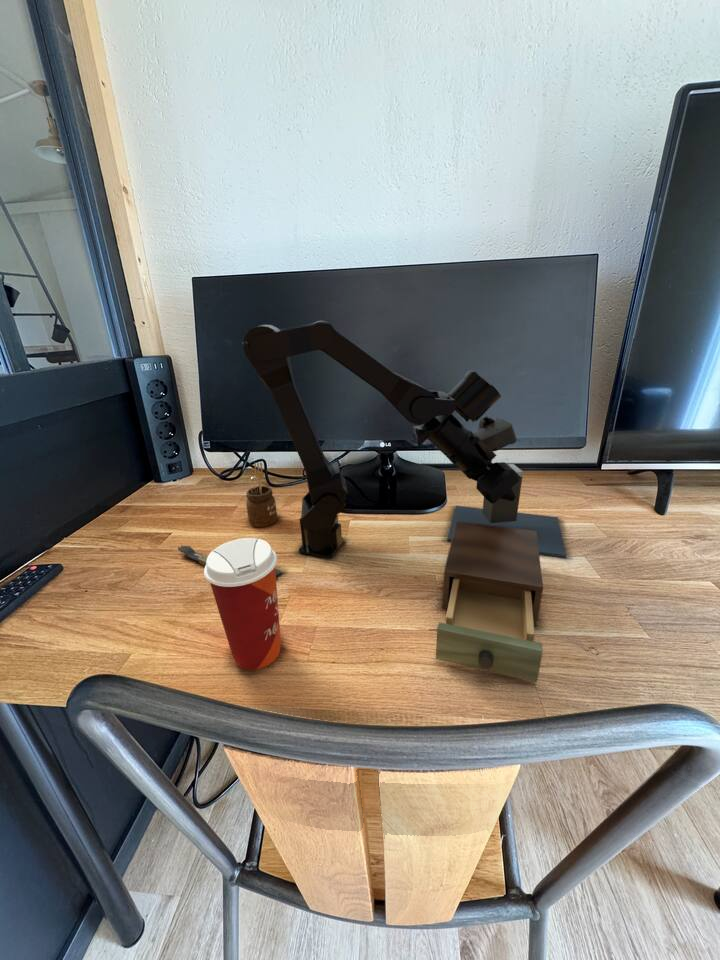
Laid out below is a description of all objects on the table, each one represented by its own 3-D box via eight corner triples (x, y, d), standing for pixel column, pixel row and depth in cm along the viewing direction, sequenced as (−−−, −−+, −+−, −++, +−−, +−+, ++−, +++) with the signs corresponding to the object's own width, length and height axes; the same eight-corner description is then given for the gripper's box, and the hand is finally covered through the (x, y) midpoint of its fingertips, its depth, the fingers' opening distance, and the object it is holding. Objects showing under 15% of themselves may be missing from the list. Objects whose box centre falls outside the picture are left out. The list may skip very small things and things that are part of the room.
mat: (447, 541, 74) (447, 538, 74) (455, 507, 86) (455, 505, 86) (565, 558, 68) (566, 555, 68) (557, 519, 80) (557, 517, 80)
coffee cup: (297, 661, 50) (284, 561, 44) (230, 688, 47) (206, 584, 41) (279, 619, 57) (265, 528, 51) (220, 640, 54) (197, 545, 48)
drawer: (537, 692, 44) (544, 659, 42) (433, 667, 47) (435, 636, 46) (531, 604, 57) (535, 576, 55) (449, 590, 60) (451, 563, 58)
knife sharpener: (490, 523, 74) (496, 473, 70) (482, 513, 77) (486, 465, 73) (516, 521, 74) (523, 471, 70) (506, 511, 78) (512, 463, 74)
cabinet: (536, 626, 54) (543, 587, 51) (442, 608, 58) (444, 570, 55) (530, 565, 67) (536, 531, 64) (454, 553, 70) (456, 520, 68)
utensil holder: (246, 529, 81) (237, 474, 76) (251, 514, 87) (243, 463, 82) (276, 526, 82) (268, 472, 77) (279, 512, 87) (272, 461, 83)
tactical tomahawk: (283, 575, 67) (283, 570, 67) (254, 595, 62) (253, 589, 62) (204, 540, 78) (204, 535, 78) (173, 554, 73) (172, 549, 72)
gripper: (515, 420, 58) (573, 483, 64) (469, 395, 75) (518, 447, 81) (459, 473, 61) (519, 530, 66) (427, 438, 78) (477, 485, 83)
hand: (508, 494), depth 74 cm, fingers closed on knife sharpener, 4 cm apart
